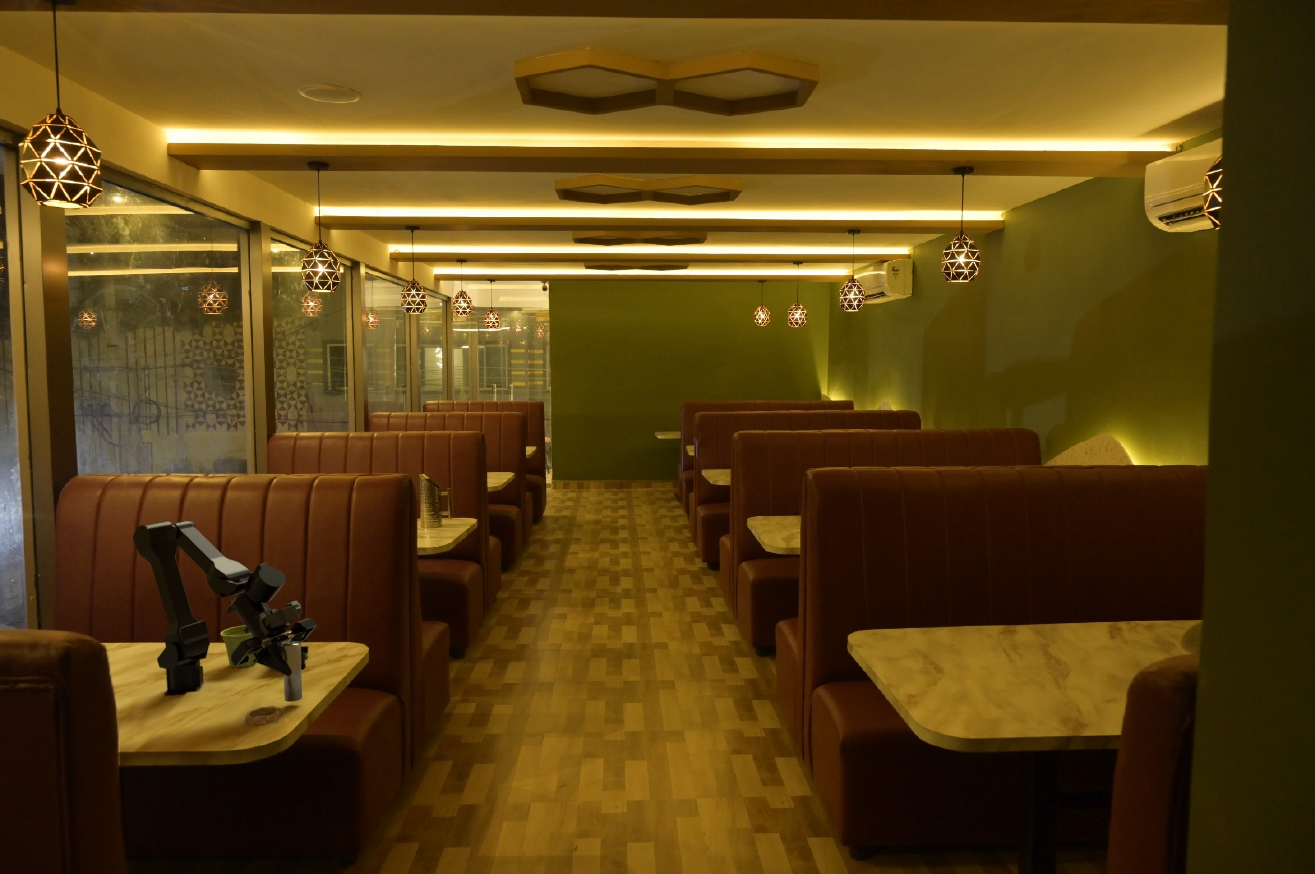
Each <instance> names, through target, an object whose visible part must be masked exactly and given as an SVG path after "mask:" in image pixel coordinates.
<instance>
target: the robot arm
mask: <svg viewBox="0 0 1315 874" xmlns="http://www.w3.org/2000/svg"><path fill="white" fill-rule="evenodd" d="M132 540H133V543H134V545H135V547H136V550H137V552H138V554H139V556H141V557H142V559H144V560H145V561H147V562H148V563H149V564H150V566H151V570H152V573H153V575H154V580H155V583H156V586H157V590H158V592H159V595H160V599H161V603H162V606H163V608H164V609H163V610H164V613H165V617H166V619H167V623H168V624H167V625H168V626H167V627H166V632H165V635H164V643H165V645H164V646H165V648H164V649H163V650H162V651H161V653H160V654H159V655H158V656H157V658H156V662H157V664H158V668H160V669H163V670H164V669H165V674H166V676H165V677H166V690H165V691H164V692H163V693H164V695H165V696H169V695H179V694H187V693H195V692H197V691H198V690H199V689H200V688H201V687H202V686H203V684H204V667H203V665H201V660H204V659H207V656H208V652H209V648H210V644H211V642H210V638H211V635H210V633H209V630H208V627H207V623H206V622H205V620H201V621H199V619H197V618H196V617H194V615H193V613H192V609H191V606H190V602H189V599H188V596H187V592H186V589H185V585H184V582H183V579H182V575H181V572H180V568H179V565H178V561H177V557H176V556H177V552H178V549H179V548H180V549H181V550H182V551H183V552H184V553H185V554H186V555H187V556H188V557H189V558H190V559H191V560H192V561H193V562H194V563H195V564H196V565H198V567H199V568H200V569H201V570H202V571H203V572H204V573H205V576H206V581H207V583H206V584H207V585H208V587H210V589H211V590H212V592H213V593H214V595H215V596H217V597H218V598H219V599H220V598H221V599H222V598H223V599H224V598H229V597H231V596H232V597H233V596H236V597H235V598H234V599H233V600H229V601H228V606H227V608H226V609H227V610H226V612H227V613H226V614H228V615H230V614H234V613H235V614H236V615H238V617H239V619H240V620H241V621H242V623H243V625H246V628H245V630H244V632H245V633H246V634H248V633H251V634H252V635H253V638H250V639H247V640H244V641H241V643H240V644H239V645H238V647H237V648H236V649H235V650H234V652H233V653H232V654H231V661H232V662H233V664H234V665H235V666H236V667H237V668H239V667H238V666H240V667H241V665H243V664H246V663H247V662H248V660H249V656H248V655H250V654H254V656H255V659H254V661H253V663H254V664H253V665H255V664H259V665H261V666H263V667H267V668H269V669H271V670H273V671H276V672H278V673H280V674H281V675H282V674H283V676H284V675H286V676H290V675H291V674H292V672H291V670H290V668H289V667H288V665H287V664H286V662H285V661H284V659H283V658H282V656H281V655H280V653H279V652H278V645H277V644H279V643H282V645H283V644H284V643H287V642H292V641H298V642H301V643H304V642H303V641H304V640H306V638H307V637H308V638H309V636H310V635H311V634H312V632H313V631H314V630H316V627H318V625H317V624H316V623H315V621H314V620H313V618H310V617H307V618H304V619H301V620H300V615H302V614H303V613H304V609H303V608H302V605H301V604H300V603H299V601H297V600H294V601H291V602H289V603H287V604H286V605H285V607H284V608H281V609H279V610H278V609H277V608H276V607H275V608H272V609H271V608H270V607H269V606H268V604H267V603H269V602H271V601H272V599H274V597H275V596H276V595H277V593H279V591H280V589H282V587H283V586H284V585H285V583H286V581H287V580H286V579H287V578H286V575H285V573H284V572H283V571H282V570H280V569H278V568H277V567H273V566H269V565H268V563H267V562H263V563H260V564H258V565H257V566H256V568H255V569H254V571H251V570H250V569H248V568H247V567H246V566H244V565H243V564H241V563H240V562H238V561H237V560H232V559H230V558H227V557H226V556H224V555H223V554H222V552H220V550H218V549H217V548H216V547H215V546H214V545H213V543H211V542H210V541H209V540H208V539H207V538H206V537H205V536H204V535H203V534H202V533H201V532H200V531H199V530H198V529H197V527H196V525H195V523H194V522H193V521H189V520H185V521H184V520H183V521H179V522H173V523H172V522H170V521H168V520H164V521H160V522H159V521H158V522H153V523H147V524H141V525H139V526H138V527H137V528H136V530H135V532H134V533H133V536H132ZM296 620H298V621H296ZM294 621H295V623H294V624H293V625H292V626H291V624H290V623H291V622H294ZM290 626H291V627H290ZM289 627H290V629H289V630H287V629H288V628H289ZM286 630H287V631H286ZM281 652H282V653H283V650H282V651H281ZM306 667H307V666H306V661H304V657H303V653H302V648H301V669H302V671H304V670H305V669H306Z"/></svg>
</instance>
